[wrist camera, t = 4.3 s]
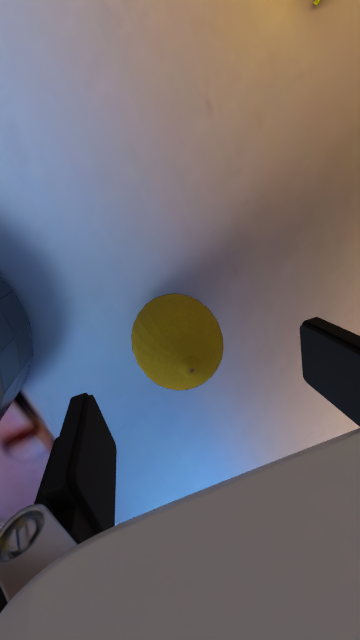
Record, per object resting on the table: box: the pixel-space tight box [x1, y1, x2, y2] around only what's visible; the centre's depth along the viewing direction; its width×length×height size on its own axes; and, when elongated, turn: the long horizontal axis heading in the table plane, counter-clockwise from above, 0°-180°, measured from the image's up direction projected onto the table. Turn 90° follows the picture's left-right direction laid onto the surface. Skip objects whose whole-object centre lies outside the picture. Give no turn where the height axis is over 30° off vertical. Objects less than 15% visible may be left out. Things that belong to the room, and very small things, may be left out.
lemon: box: [131, 294, 223, 390], centre depth 16 cm, size 6×6×8 cm
